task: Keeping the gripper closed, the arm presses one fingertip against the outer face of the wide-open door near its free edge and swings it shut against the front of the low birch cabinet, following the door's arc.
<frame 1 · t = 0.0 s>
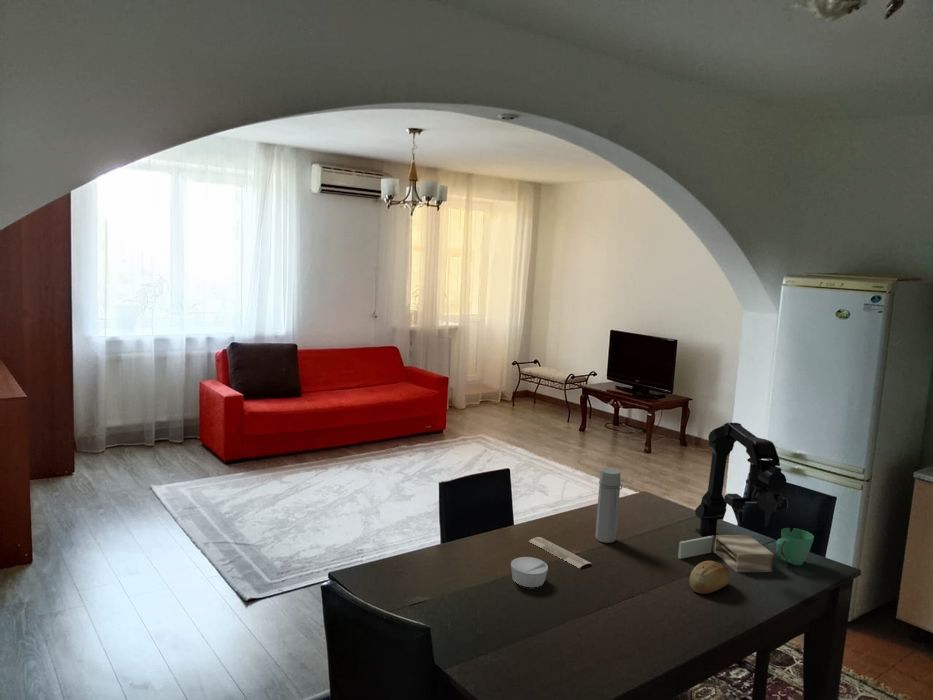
hand: (753, 526, 212), 15 cm above the table, fingers open, 9 cm apart
bread roll: (709, 588, 201), on the table
ramekin: (528, 582, 199), on the table
newspaper: (557, 556, 220), on the table
door: (696, 546, 223), point 3 cm above the table, hinge at 70.0°
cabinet: (742, 561, 220), on the table
mug: (789, 563, 221), on the table
water bottle: (606, 541, 232), on the table
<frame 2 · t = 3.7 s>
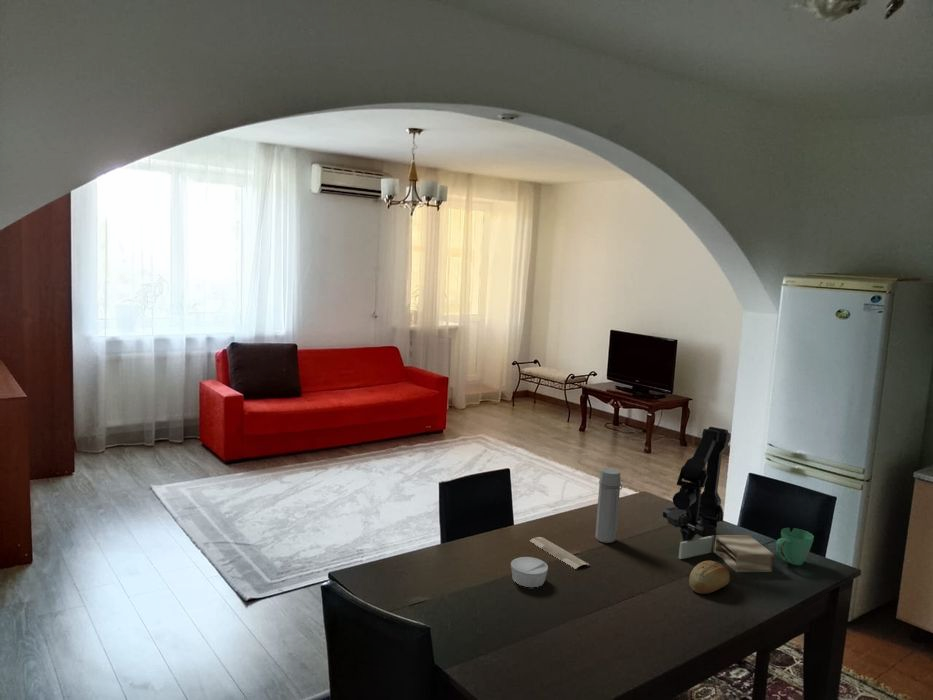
hand: (686, 545, 223), 3 cm above the table, fingers closed
door: (697, 546, 223), point 3 cm above the table, hinge at 69.0°, touching gripper
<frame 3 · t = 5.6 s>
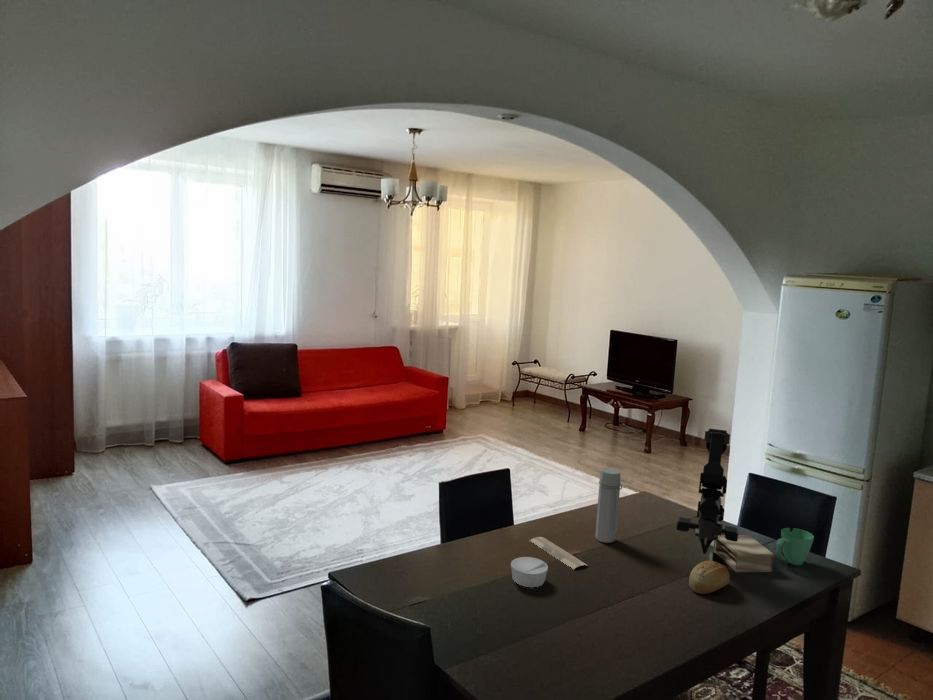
hand: (704, 553, 217), 3 cm above the table, fingers closed
door: (711, 551, 219), point 3 cm above the table, hinge at 28.8°, touching gripper
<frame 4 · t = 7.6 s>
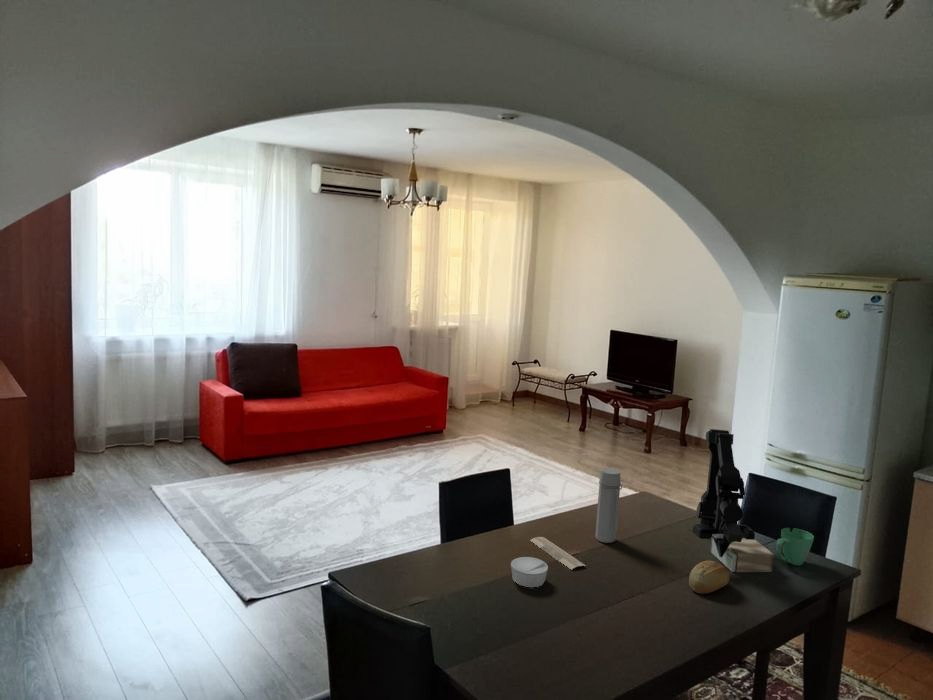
hand: (720, 556, 216), 3 cm above the table, fingers closed
door: (722, 552, 219), point 3 cm above the table, hinge at 0.2°, touching gripper
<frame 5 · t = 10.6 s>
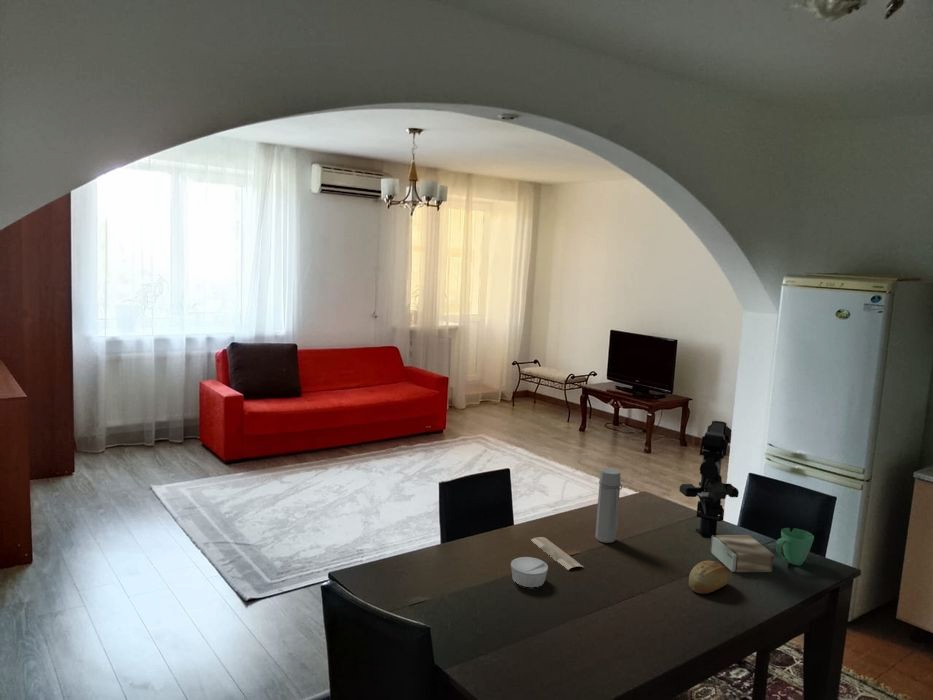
hand: (706, 514, 227), 13 cm above the table, fingers closed
door: (722, 552, 219), point 3 cm above the table, hinge at 0.1°
at the end: door at +0° (first picture: +70°); mug moved 0.2 cm from its start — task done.
